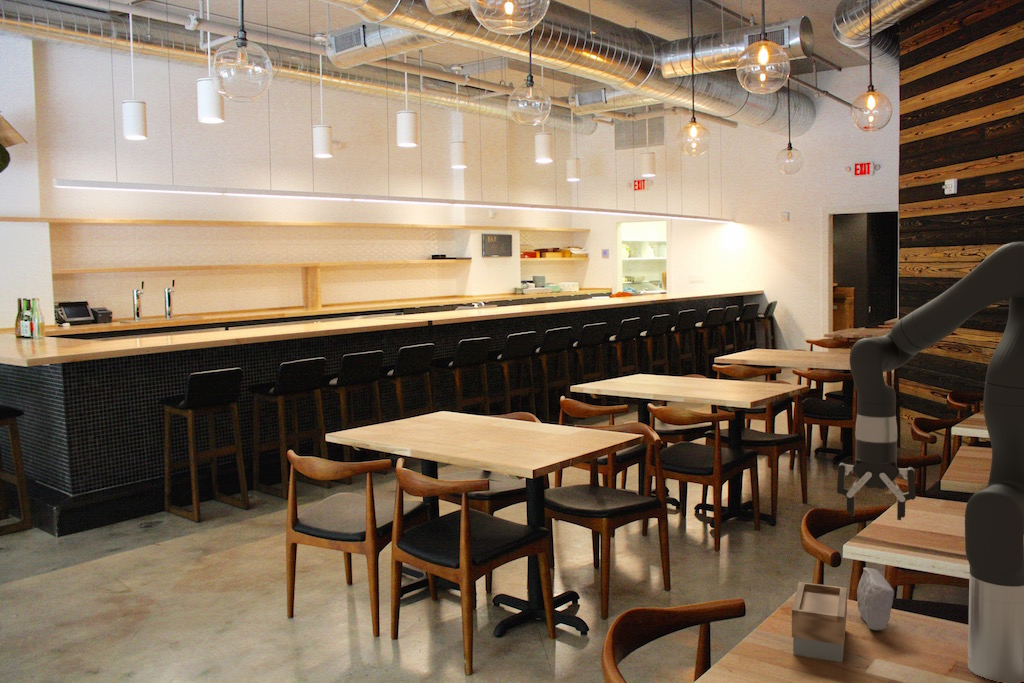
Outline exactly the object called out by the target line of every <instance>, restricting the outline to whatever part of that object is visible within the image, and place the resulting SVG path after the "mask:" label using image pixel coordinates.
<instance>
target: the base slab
mask: <svg viewBox="0 0 1024 683" xmlns="http://www.w3.org/2000/svg"><path fill="white" fill-rule="evenodd" d="M792 638H793V639H792V640H793V641H792V642H793V643H792V645H793V646H792V648H793V649H792V652H793V653H792V655H794V656H800V657H801V656H802V657H807V658H813V659H820V660H826V661H831V662H839V663H843V659H844V650H845V648H844V647H845V644H844V645H841V644H834V643H827V642H821V641H814V640H807V639H801V638H794V637H792Z"/></svg>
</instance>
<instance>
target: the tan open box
mask: <svg viewBox="0 0 1024 683" xmlns="http://www.w3.org/2000/svg"><path fill="white" fill-rule="evenodd" d="M847 609H848V588H847V587H843V586H835V585H826V584H819V583H811V582H804V581H798V584H797V589H796V592H795V596H794V600H793V604H792V608H791V638H793V637H794V638H801V639H807V640H814V641H821V642H827V643H834V644H841V645H844V646H845V638H846V627H847V626H846V625H847V614H848V610H847Z"/></svg>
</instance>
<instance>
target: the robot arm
mask: <svg viewBox="0 0 1024 683" xmlns="http://www.w3.org/2000/svg"><path fill="white" fill-rule="evenodd" d="M1005 300H1009V305H1008V307H1009V308H1008V316H1007V317H1008V318H1007V323H1006V326H1005V329H1004V332H1003V334H1002V337H1001V339H1000V341H999V343H998V344H997V345H996V346H997V347H996V348H995V350H994V352H993V354H992V357H991V358H990V361H989V363H988V366H987V370H986V374H985V378H984V379H985V381H984V388H983V390H984V391H983V401H982V402H983V403H982V404H983V405H982V406H983V409H982V410H983V416H984V421H985V426H986V430H987V433H988V436H989V441H990V445H991V464H990V472H989V475H988V476H989V478H988V481H987V486H986V487H985V488H983V489H981V490H979V491H977V492H975V493H973V495H971V496H970V498H969V499H968V500H967V503H966V506H965V511H964V542H965V544H964V547H965V548H964V549H965V556H966V559H967V562H968V564H969V575H968V576H969V585H968V586H969V587H968V588H969V589H968V629H967V630H968V631H967V632H968V634H967V636H968V638H967V667H968V670H969V671H970V672H971V673H973V674H974V675H975V676H977V675H978V676H977V677H979V676H981V677H980V678H982V677H984V678H986V679H985V680H987V679H991V680H995V681H1000V682H1006V683H1017V682H1021V681H1024V241H1012V242H1009V243H1006V244H1003V245H1002V246H1000V247H998V248H997V249H996V250H994V251H993V252H992V253H991V254H989V255H988V256H987V257H985V259H983V261H981V262H979V263H978V265H976V266H975V267H974V268H973V269H971V271H970V272H968V273H967V274H966V275H965V276H963V278H961V279H959V281H957V282H956V283H955V284H953V285H952V286H950V287H949V288H948V289H947V290H945V291H944V292H942V293H940V295H938V296H936V297H935V298H932V299H931V300H930V301H928V302H926V303H925V304H923V305H921V306H920V307H918V308H916V309H915V310H913V311H912V312H910V313H909V314H907V315H905V316H903V317H901V318H900V319H899V320H898V321H896V322H895V323H894V324H893V325H892V327H891V331H889V332H888V333H886V334H884V335H881V336H873V337H864V338H860V339H858V340H857V341H856V342H855V343H853V345H852V348H851V350H850V353H849V366H850V372H851V376H852V378H853V379H852V380H853V383H854V387H855V390H856V394H857V399H856V406H857V407H856V421H855V432H854V435H855V458H854V459H855V460H854V461H855V462H854V464H847V463H844V462H839V464H838V472H837V485H836V486H837V487H836V492H837V494H839V495H842V496H845V497H846V512H847V513H848V514H850V517H855V509H856V508H855V506H856V505H855V502H856V501H855V500H856V499H855V498H856V496H855V494H857V492H858V491H860V490H861V488H863V487H866V488H868V489H869V488H870V489H872V488H876V489H880V490H885V489H886V488H888V490H890V492H891V493H892V494H893V495H894V496H895V497H896V499H897V500H896V502H897V504H896V505H897V506H896V507H897V508H896V509H897V510H896V511H897V512H896V514H897V515H896V520H897V521H902V518H905V516H906V503H907V501H911V500H915V499H916V495H917V494H916V482H915V481H916V480H915V479H916V478H915V469H914V467H912V466H909V467H907V468H906V467H905V468H901V467H899V466H898V464H897V462H898V461H897V460H898V453H897V452H898V425H897V416H896V415H897V412H896V410H897V409H896V408H897V395H896V391H895V390H896V389H895V388H894V387H892V386H891V385H888V384H886V382H885V379H884V378H885V377H884V373H886V372H892V371H895V370H896V369H899V368H900V367H902V366H904V365H905V364H906V363H908V362H909V361H911V360H912V358H914V357H915V356H916V355H917V354H919V352H922V351H924V350H926V349H928V348H929V347H931V346H933V345H935V344H936V343H938V342H940V341H942V340H944V339H945V338H947V337H949V336H950V335H951V334H952V333H954V332H955V331H956V330H957V329H958V328H960V327H961V325H963V324H964V323H965V322H967V320H968V319H970V318H971V317H973V315H975V314H977V313H978V312H980V311H981V310H983V309H985V308H988V307H989V306H992V305H994V304H998V303H1000V302H1002V301H1005ZM852 471H853V473H854V475H855V476H856V477H857V479H855V481H854V482H853V483H852V484H851V486H850V487H849V488H847V487H845V478H846V476H848V475H849V474H850V472H852ZM900 475H902V478H903V479H904V480H907V488H908V489H907V490H908V491H907V492H903V491H902V490H901V488H900V487H899V485H898V484H897V482H895V480H896V479H897V478H898V476H900ZM984 678H983V679H984Z"/></svg>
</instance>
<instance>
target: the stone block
mask: <svg viewBox="0 0 1024 683" xmlns="http://www.w3.org/2000/svg"><path fill="white" fill-rule="evenodd" d="M856 596H857V600H856V601H857V609H858V612H859V613H860V616H861V618H862V619H863V621H864V622H866V624H867V626H868V628H869V629H870V630H874V631H882V630H885V629H886V627H887V625H888V622H890V621H889V620H890V618H891V614H892V612H891V611H892V606H893V602H894V597H895V590H894V588H892V586H891V584H890V583H889V582H888V581H887V579H886V578H885V577H884V575H883V574H882V573H881V572H880V570H877V569H876V568H873V567H872V568H871V567H870V568H869V567H868V566H867V567H863V573H862V575H861V577H860V580H859V582H858V586H857V591H856Z"/></svg>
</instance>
